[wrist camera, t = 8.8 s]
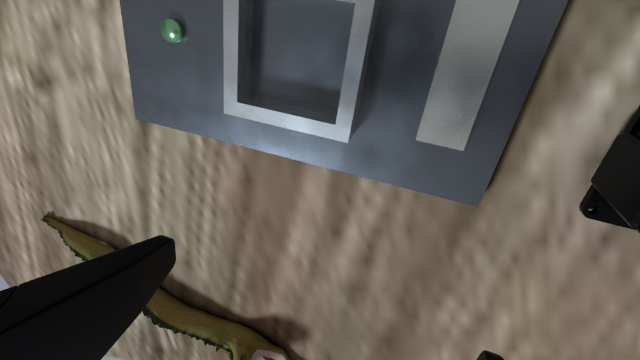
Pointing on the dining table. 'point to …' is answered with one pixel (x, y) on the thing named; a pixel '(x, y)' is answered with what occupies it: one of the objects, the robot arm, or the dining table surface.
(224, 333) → the toy
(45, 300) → the robot arm
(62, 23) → the dining table surface
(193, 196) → the dining table surface
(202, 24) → the panel
